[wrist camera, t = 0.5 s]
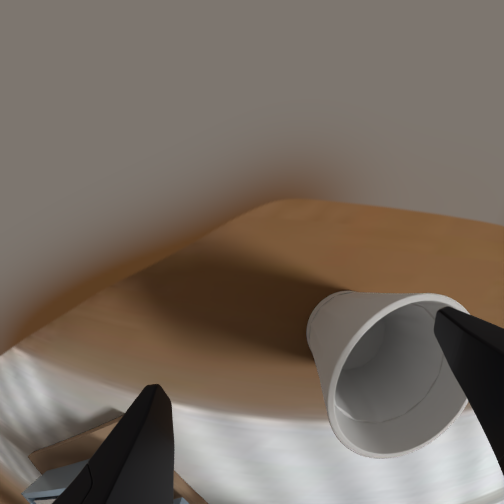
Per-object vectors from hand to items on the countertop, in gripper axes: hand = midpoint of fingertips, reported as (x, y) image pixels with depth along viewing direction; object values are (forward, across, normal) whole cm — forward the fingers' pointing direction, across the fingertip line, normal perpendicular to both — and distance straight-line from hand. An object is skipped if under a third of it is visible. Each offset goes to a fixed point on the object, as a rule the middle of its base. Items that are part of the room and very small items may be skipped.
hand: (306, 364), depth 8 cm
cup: (+11, -5, +10) cm, 16 cm away
